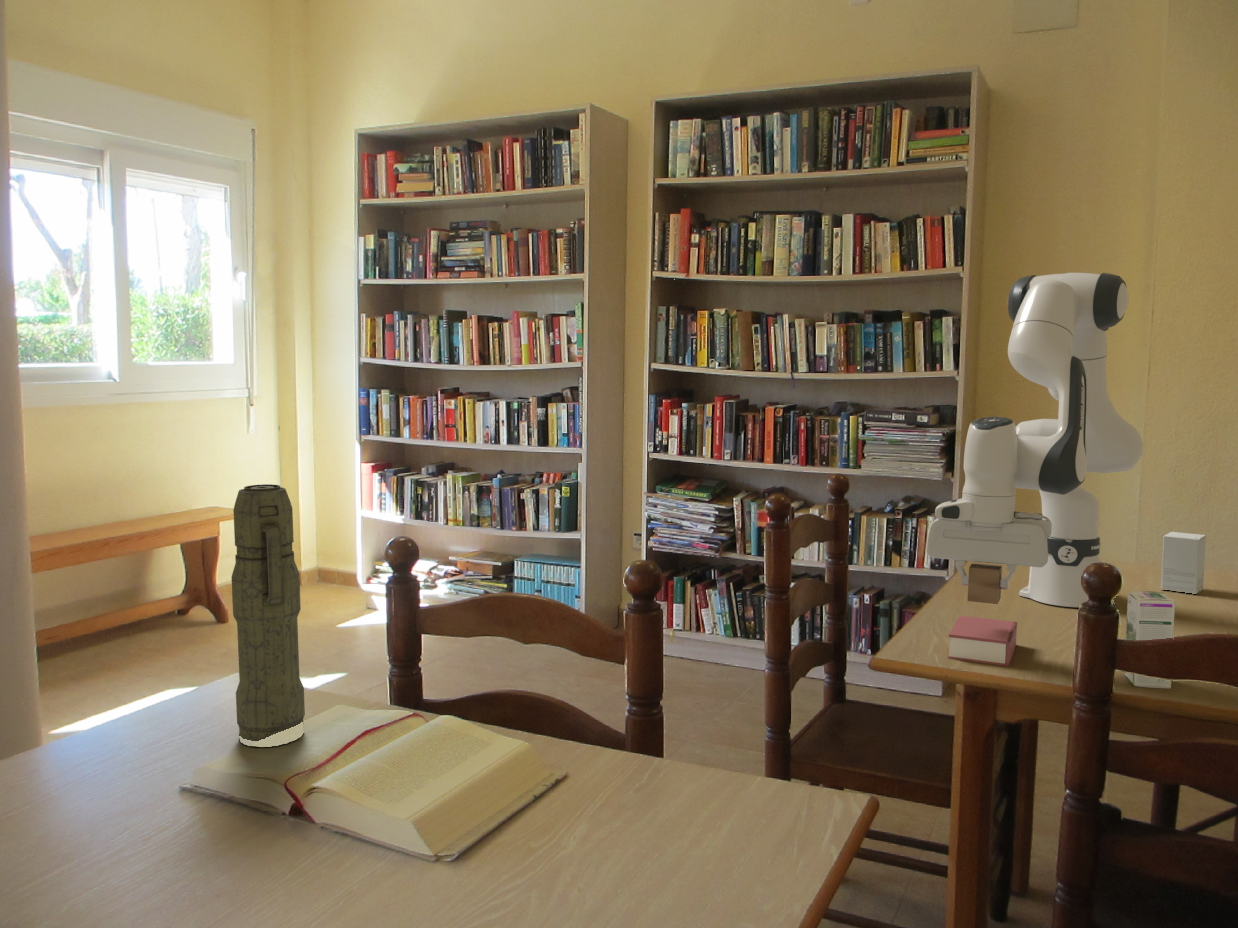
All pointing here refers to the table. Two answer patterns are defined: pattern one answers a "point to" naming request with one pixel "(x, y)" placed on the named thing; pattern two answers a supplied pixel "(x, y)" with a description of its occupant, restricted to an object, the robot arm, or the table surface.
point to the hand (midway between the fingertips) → (984, 586)
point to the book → (983, 640)
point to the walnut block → (984, 583)
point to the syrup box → (1149, 626)
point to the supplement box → (1183, 562)
